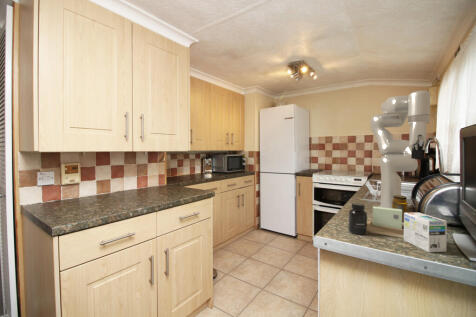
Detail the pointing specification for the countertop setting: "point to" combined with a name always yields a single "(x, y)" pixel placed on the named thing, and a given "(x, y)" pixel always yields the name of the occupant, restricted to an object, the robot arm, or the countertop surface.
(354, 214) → the supplement bottle
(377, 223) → the door panel
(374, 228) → the bottom track
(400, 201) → the condiment
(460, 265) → the countertop surface
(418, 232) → the light bulb box
